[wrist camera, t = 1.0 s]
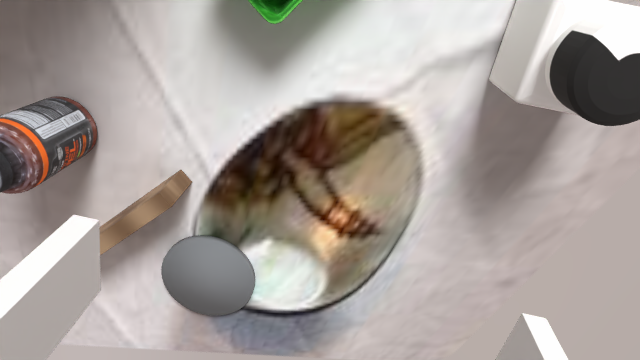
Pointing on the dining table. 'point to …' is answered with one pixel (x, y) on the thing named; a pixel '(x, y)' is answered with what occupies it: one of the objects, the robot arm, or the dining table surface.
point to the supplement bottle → (42, 141)
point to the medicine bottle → (573, 58)
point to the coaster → (208, 275)
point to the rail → (143, 211)
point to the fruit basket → (275, 9)
